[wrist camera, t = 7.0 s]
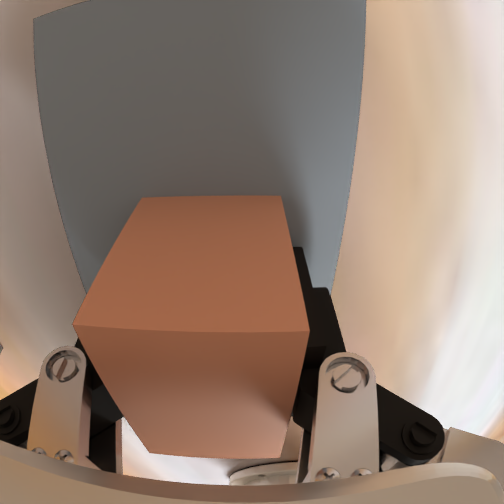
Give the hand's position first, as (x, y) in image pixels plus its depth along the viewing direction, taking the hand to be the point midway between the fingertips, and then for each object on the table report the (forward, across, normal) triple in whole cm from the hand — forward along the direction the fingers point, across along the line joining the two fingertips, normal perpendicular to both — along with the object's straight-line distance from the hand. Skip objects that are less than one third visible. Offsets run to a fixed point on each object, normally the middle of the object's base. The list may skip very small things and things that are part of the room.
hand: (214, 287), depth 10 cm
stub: (+3, 0, 0) cm, 3 cm away
